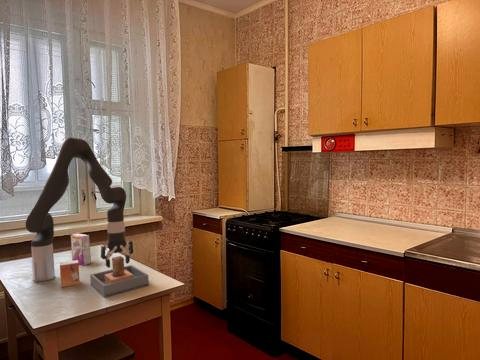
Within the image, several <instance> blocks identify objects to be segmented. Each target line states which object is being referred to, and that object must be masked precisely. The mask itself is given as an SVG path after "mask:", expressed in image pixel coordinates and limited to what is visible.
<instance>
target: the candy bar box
mask: <svg viewBox="0 0 480 360" xmlns="http://www.w3.org/2000/svg"><path fill="white" fill-rule="evenodd" d="M70 245H71V258H72V260H71V261H75V260H78V263H79V266H80V265H81V266H87V265H90V264H92V260H91V259H92V258H91V255H92V254H91V243H90V235H89V234H88V235H87V234H83V233H73V234H70Z"/></svg>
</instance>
